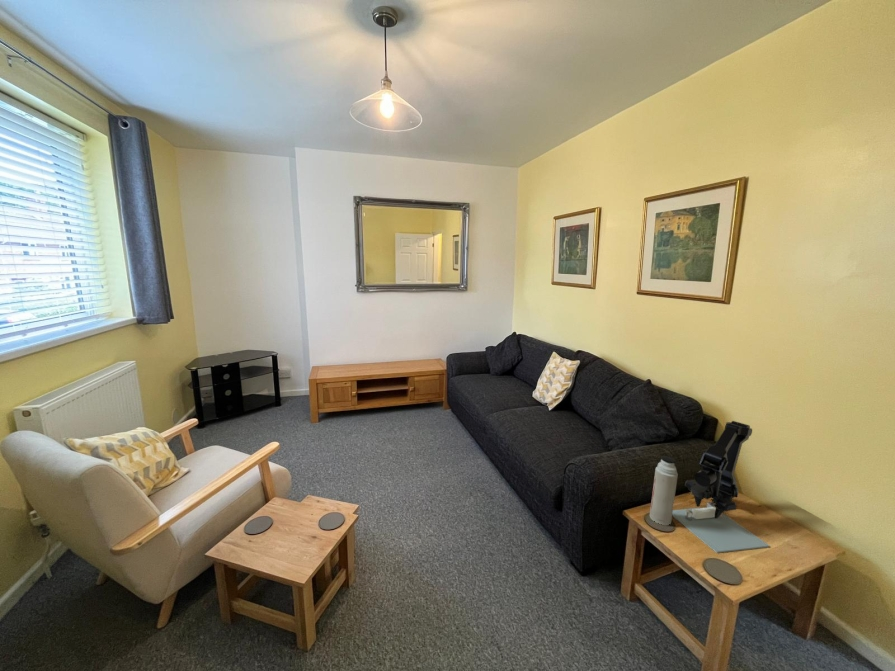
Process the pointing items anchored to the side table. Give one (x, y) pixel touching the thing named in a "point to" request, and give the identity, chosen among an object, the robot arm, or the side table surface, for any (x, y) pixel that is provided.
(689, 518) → the posts
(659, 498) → the thermos bottle
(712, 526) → the board
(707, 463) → the robot arm
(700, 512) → the white rectangular bar
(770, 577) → the side table surface
